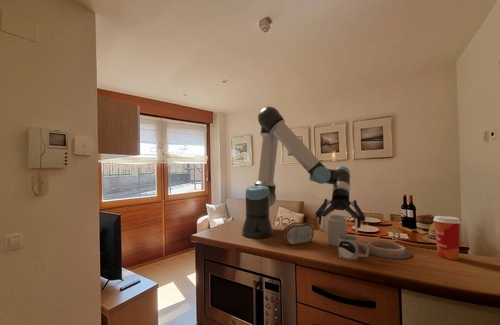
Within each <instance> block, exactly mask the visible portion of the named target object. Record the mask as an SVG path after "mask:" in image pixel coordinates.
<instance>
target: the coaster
mask: <svg viewBox="0 0 500 325" xmlns="http://www.w3.org/2000/svg"><path fill="white" fill-rule="evenodd" d="M366 244H368V247H369V255H372V256H375V257H378V258H379V257H380V258H384V259H390V260H404V259H407V260H408V259H410V258H411V257H412V253H411V252H412V251H410V250H408V249H407V248H406V246H403V245H402V244H399V243H396V242H392V241H387V240H369V241H368V242H366ZM361 246H362V250H363V252H365V253H366V248H365V246H363V245H361Z"/></svg>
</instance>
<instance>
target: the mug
mask: <svg viewBox="0 0 500 325" xmlns="http://www.w3.org/2000/svg"><path fill="white" fill-rule="evenodd" d="M359 246H365V248H366V252H365V253H360V252H359ZM337 250H338V257H339V258H340V259H343V260H346V261H347V260H348V261H357V260H358V259H359V258H368V257H369V255H370V254H369V247H368V244H367V242H363V241H359V238H358V237H357V236H352V235H347V236H345V235H343V236H339V237H338V247H337Z"/></svg>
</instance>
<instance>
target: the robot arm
mask: <svg viewBox="0 0 500 325" xmlns="http://www.w3.org/2000/svg"><path fill="white" fill-rule="evenodd" d="M257 120H258V123H259V125H260V136H261V137H262V141H261V142H262V144H261V150H260V151H261V152H260V160H259V167H258V177H257V181H256V182H254V185H251V186H248V187H247V188H246V189H245V194H244V195H245V220H244V222H243V225H242V226H243V227H242V229H241V235H242V234H243V235H242V236H244V237H247V238H252V239H255V238H256V239H261V238H269V237H272V236H273V235H274V229H273V227H272V222H271V219H270V208H271V207H273V205H274V204H275V202H276V200H277V195H276V189H277V188H276V186H277V185H276V184H275V181H274V179H275V172H276V171H275V170H276V162H277V152H278V142H280V143H281V144H282V145H283V146H284V148H286V150H287V151H288V152H289V153H290V154H291V155H292V156H293V158H295V160H296V161H297V162H298V163H299V164H300V165H301V166H302V168H304V169H305V170H306V172H307V173H308V175H309V180H310V181H311V182H315V183H317V184H320V185H323V184H326V185H327V184H329V185H332V192H331V193H332V194H331V200H328V198H324V201H323V203H322V204H321V205H320V206H319V207H318V209H317V210H316V211H315V217H316V218H318V224H319V225H320V226H319V228H320V229H319V230H320V233H323V232H324V223H325V217H327V216H328V215H329V214H330V213H332V212H334V211H335V210H336V211H346V213H348V214H349V215H350V216H351V217H352V218H353V219H354V220H355V222H354V224H355V225H354V226H355V228H354V230H355V231H354V232H355V236H354V237H358V235H359V234H358V231H359V229H360V228H361V227H362V224H361V222H365V221H366V215H365V213H363V211H362V210H361V208H360V206H359V205H358V203H357V200H355V199H354V200H353V201H351V200H350V193H351V192H350V186H351V173H350V172H351V171H350V169H349V168H348V167H347V166H346V167H345V166H342V165H341V166H337V167H336V168H335V169H332V168H331V169H330V168H327V167H326V166H325V165H324V164H323V163H322V162H321V161H320V159H318V157H316V155H315V154H314V153H313V152H312V151H311V150H310V149H309V148H308V147H307V146H306V145H305V143H304V142H303V141H302V140H301V139H300V138H299V137H298V136H297V135H296V133H295V132H293V131H292V129H291V128H290V127H289V126H288V125H287V124H286V120H285V118H284V117H283V115H282V114H281V113H280V112H279V110H278V109H277V108H275V107H273V106H265V107H263V108H262V109H261V110H260V111H259V113H258V116H257ZM351 206H352V207H353V208H354V210H355V211H354V210H353V209H352V208H351Z"/></svg>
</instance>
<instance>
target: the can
mask: <svg viewBox="0 0 500 325" xmlns="http://www.w3.org/2000/svg"><path fill="white" fill-rule="evenodd" d="M347 222H348V220H346V217H345V216H344V215H337V214H332V215H329V216H328V218H327V243H328V244H329V246H332V247H334V248H338V237H339V236H343V235H345V236H348V225H347Z"/></svg>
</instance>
